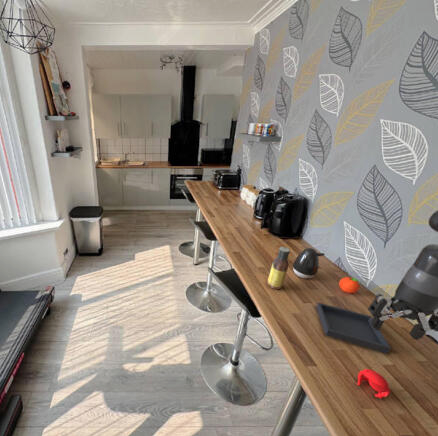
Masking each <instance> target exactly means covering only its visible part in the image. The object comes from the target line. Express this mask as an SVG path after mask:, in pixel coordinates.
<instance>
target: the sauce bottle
mask: <svg viewBox="0 0 438 436" xmlns="http://www.w3.org/2000/svg"><path fill="white" fill-rule="evenodd" d="M290 253H291V249H290V248H288V247H286V246H280V247H279V249H278V254H277V256H276V257H275V259H273V261H272V263H271V267H270V271H269V274H268V278H267V283H266V284H267V285H268V286H269V287H270V288H271V289H273V290H281V289H282V288H283V285H284V281H285V279H286V276H287V273H288V269H289V264H290V263H289V260H288V257H289V255H290Z"/></svg>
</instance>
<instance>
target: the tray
mask: <svg viewBox="0 0 438 436" xmlns="http://www.w3.org/2000/svg"><path fill="white" fill-rule="evenodd" d="M315 308H316V312H317V314H318V317H319V320H320V323H321V325H322V329H323V332H324V335H325V336H327V337H330V338H334V339H337V340H340V341H344V342H346V343H349V344H350V343H351V344H354V345H357V346H361V347H364V348H368V349H370V350H374V351H377V352H381V353H384V354H388V353H389V352H390V350H391V346H390V344H389V343H388V341H387V339H386V337H385V336H384V334H383V333H382V332H381V331H382V330H379V331H378V330H375V329H374V328H373V326H372V324H371V321H372V319H373V316H372V315H367V314H364V313H359V312H357V311H352V310H348V309H345V308H340V307H336V306H333V305H330V304H325V303H322V302H317V305H316V307H315Z"/></svg>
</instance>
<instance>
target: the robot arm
mask: <svg viewBox="0 0 438 436" xmlns="http://www.w3.org/2000/svg"><path fill="white" fill-rule="evenodd" d="M428 226H429V228H430V229H431V230H433V231H434V232H436V233H437V234H438V209H437V210H436V211H434V212H433V213H432V214H431V215H430V217H429V218H428ZM367 310H368V312H369V313H370V315H371V316H372V318H373V319H372V321H371V324H372V326H373V328H374V329H375V330H378V331H379V330H380V329H381V328H382V326H383V325H384V324H385V321H387V320H390V319H392V320H393V319H397V318H401V319H408V320H410V321H416V322H417V323H415V324H414V326H412V328H411V329H410V331H409V336H410V337H411V338H412V339H413V340H415V341H419V340H420V339H422V338H423V337H424V336H425V334H426V333H427V332H430V331H434V332H438V243H430V244H426V245H425V246H424V247H422V249H421V250H420V252H419V253H418V255H417V257H416V258H415V259H414V262H413V263H412V265H411V266H410V267H409V268H408V269H407V271H406V272H405V273H404V276H403V278H402V279H401V281H400V282H399V284H398V286H397V287H396V289H395V292H394V296H392V297H390V298H389V297H385V296H383V294H382V293H381V294H380V293H379V294H377V295H376V296H375V298H374V299H373V300H372V302H371V303H370V305H369V307H368V308H367ZM391 310H392V311H393V312H391ZM428 316H430V317H429V319H427V317H428ZM380 331H381V330H380Z"/></svg>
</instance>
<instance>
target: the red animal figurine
mask: <svg viewBox="0 0 438 436" xmlns="http://www.w3.org/2000/svg"><path fill="white" fill-rule="evenodd" d="M357 380H358V381H357V386H361V383H362V382H363V381H366V382H368V383H369V386H370V387H371V388H372V389H373V390H375V391H376V392H377V393H375V394H374V396H375V397H376V398H379V399H384V398H387V397H389V396H390V394H391V389H390V386H389V383H388V381H387V379H385V377H384V376H382V374H380V373H379V372H377V371H375V370H373V369H370V368H365V369H362V370H360V371H359V372H358V375H357Z"/></svg>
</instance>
